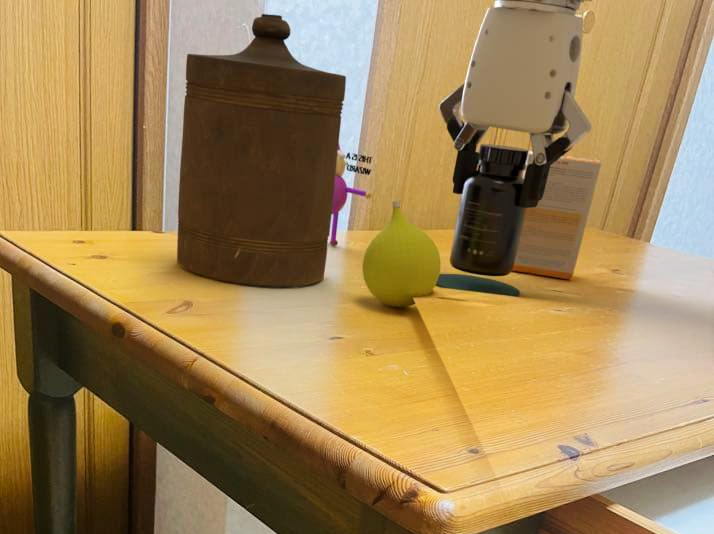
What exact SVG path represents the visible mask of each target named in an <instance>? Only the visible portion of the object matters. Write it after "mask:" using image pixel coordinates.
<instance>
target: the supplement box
mask: <svg viewBox="0 0 714 534" xmlns="http://www.w3.org/2000/svg"><path fill="white" fill-rule="evenodd" d="M533 159H534V156H533V151H532V150H528V156H527V160H526V164H525V165H526V169H527V166H528V165H529V164H532V163H533ZM601 167H602V162H601V161H600V160H599V159H594V158H588V157H582V156H573V155H565V154H564V155H563V156H562V157H560V158H559V159H558V160H557V161H556V163H555V164H553V165H550V169H549V173H548V178H547V182H546V186H545V190H544V194H543V197H542V199H541V200H539V201H538V205H537V206H536V207H533V208H526V213H525V217H524V222H523V226H522V231H521V235H520V240H519V245H518V249H517V254H516V258H515V262H514V267H513V270H512V272H519V273H527V274H533V275H540V276H545V277H552V278H559V279H564V280H569V281H570V280H572V279H573V276H574V273H575V268H576V264H577V261H578V257H579V253H580V250H581V246H582V243H583V242H582V241H583V238H584V233H585V229H586V226H587V223H588V218H589V214H590V209H591V206H592V202H593V198H594V194H595V191H596V186H597V184H598V183H597V182H598V178H599V174H600V170H601ZM526 169H525V170H523V174H522V177H523V178H525V173H526Z"/></svg>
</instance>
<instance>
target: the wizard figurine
mask: <svg viewBox="0 0 714 534" xmlns="http://www.w3.org/2000/svg"><path fill="white" fill-rule="evenodd" d="M352 155H353V156H352V157H351V154H350V152H347V154H345V153H344V151H343V150H341V146H340V143H339V144H338V153H337V163H336V174H335V185H334V196H333V206H332V223H331V232H330V241H329V244H330V246H332V247H337V246H338V243H339V242H338V240H337V231H338V222H339V213H340V211H341V210H342V209H343V208H344V206H345V205H346V202H347V199H348V193H349V194H352V195H357V196H361V197H364V198H366V199H368V200H370V199H372V195H373V194H372V192H371V190H366V191H365V190H362V189H357V188H353V187H348V185H347V183H346V181H345V179H344V177H342V176H343V175H344V174H345V169H346V170H347V171H348V172H353V173H357V174H361V175H366V176H370V174H371V171H372V168H367V167H364V166H359V165H358V166H356V165H353V164H349V162H347V159H348V160H352V161H356V162H361V163H366V164H372V159H373V157H372V156H367V155H362V154H359V155H358V153H352ZM358 156H359V158H358Z"/></svg>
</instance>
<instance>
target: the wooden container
mask: <svg viewBox="0 0 714 534" xmlns="http://www.w3.org/2000/svg"><path fill="white" fill-rule="evenodd" d="M251 31H252V35H253V36H254V38H253V39H252V41H251V42H250V43H249V44H248V45H247V46H246V47H245V48H244V49H243V50H242V51H240V52H237V53H234V54H218V55H217V54H196V53H187V55H186V65H185V80H186V82H185V89H186V90H185V93H186V95H184V103H183V104H184V105H183V121H182V137H181V138H182V139H181V152H180V153H181V154H180V166H179V182H178V183H179V186H178V204H177V205H178V206H177V222H178V223H177V226H178V227H177V240H176V243H177V245H176V261H177V263H178V264H179V265H180V266H181V267H182V268H184V269H185V268H186V270H187V271H189V272H191V273H194V274H197V275H200V276H203V277H205V278H210V279H215V280H219V281H223V282H229V283H235V284H240V285H241V284H242V285H250V286H258V287H273V288H274V287H278V288H281V287H284V288H285V287H303V286H310V285H312V284H316V283H318V282H320V281H322V280H323V279H324V277H325V271H326V263H327V256H328V242H329V237H330V235H331V225H332V223H331V222H332V217H333V214H332V206H333V196H334V185H335V174H336V163H337V153H338V144H339V145H340V133H341V125H342V124H341V123H342V114H343V112H342V111H343V109H344V108H343V106H344V103H343V102H344V101H345V96H346V83H347V77H346V75H344V74H338V73H333V72H329V71H324V70H320V69H317V68H313V67H311V66H308V65H306V64H303V63H301V62H300V61H298V60H297V59H296V58H295V57H294V55H292V53H291V52H290V50H289V48H288V46H287V45H286V42H285V40H288V39H289V38H290V35H291V27H290V24H289V23H288V22H287V21H286V20H285V19H284V20H283V16H282V15H278V14H267V13H261V15H260V16H257V17H255V18H254V19H253V21H252V26H251Z"/></svg>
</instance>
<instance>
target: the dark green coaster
mask: <svg viewBox="0 0 714 534" xmlns="http://www.w3.org/2000/svg"><path fill="white" fill-rule="evenodd" d="M435 286H437V287H439V288H442V289H449V290H456V291H465V292H473V293H481V294H489V295H498V296H505V297H513V298H517V297H519V296H520V294H521V292H520V290H519V289H518V288H516V287H515V286H513V285H511V284H508V283H505V282H503V281H499V280H496V279H491V278H487V277H484V276H483V277H482V276H478V275H470V274H461V273H440V274H439V278H438V280H437V283H436V285H435Z"/></svg>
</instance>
